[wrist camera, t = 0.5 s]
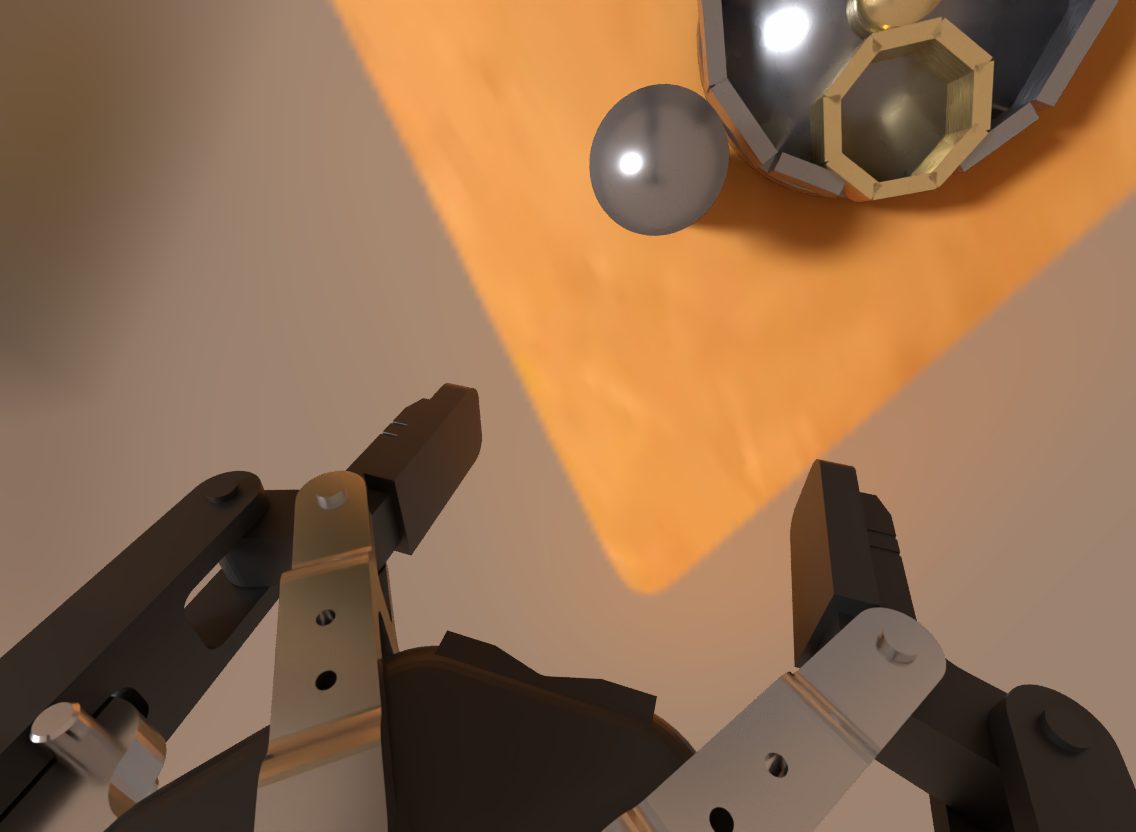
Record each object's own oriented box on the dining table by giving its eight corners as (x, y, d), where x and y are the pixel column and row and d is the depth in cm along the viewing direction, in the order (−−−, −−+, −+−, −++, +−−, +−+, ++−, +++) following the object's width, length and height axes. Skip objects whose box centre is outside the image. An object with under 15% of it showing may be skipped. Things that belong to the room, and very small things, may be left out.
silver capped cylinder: (601, 139, 32) (579, 102, 23) (702, 116, 31) (723, 68, 22) (615, 241, 34) (600, 246, 25) (712, 224, 33) (734, 222, 24)
